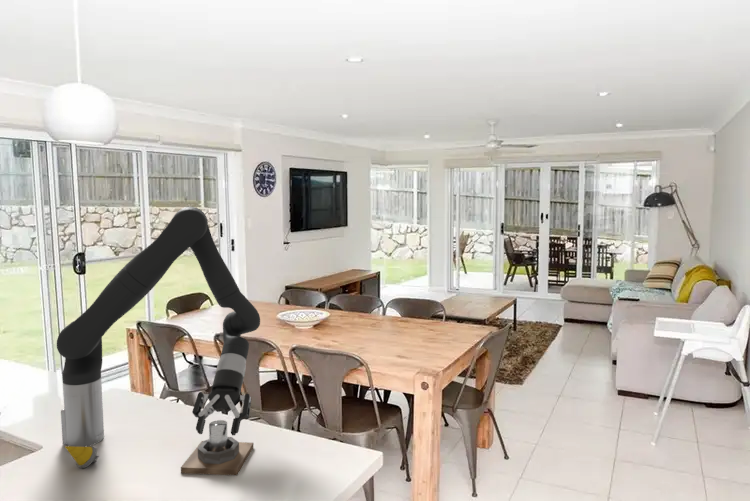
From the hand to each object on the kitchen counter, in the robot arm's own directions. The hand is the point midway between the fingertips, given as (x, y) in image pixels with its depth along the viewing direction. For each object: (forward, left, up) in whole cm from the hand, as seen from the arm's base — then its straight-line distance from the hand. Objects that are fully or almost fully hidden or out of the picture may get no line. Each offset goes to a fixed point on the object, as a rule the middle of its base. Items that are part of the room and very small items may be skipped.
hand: (216, 433), depth 137 cm
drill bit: (-32, -5, -8) cm, 33 cm away
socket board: (0, +1, -8) cm, 8 cm away
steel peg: (0, +2, -6) cm, 6 cm away
